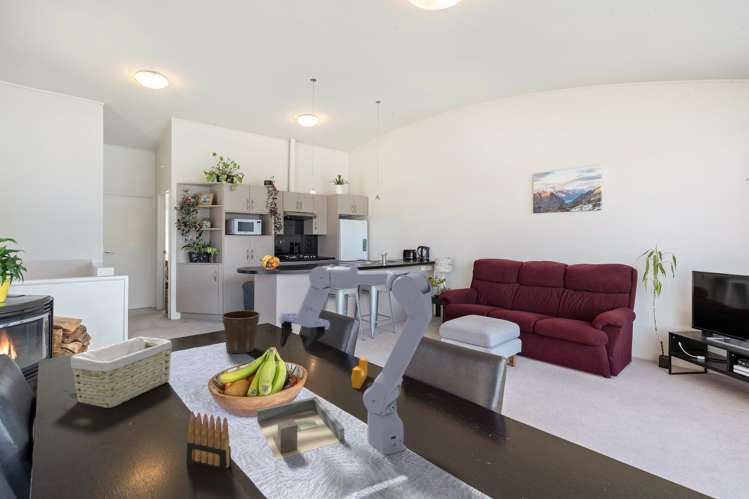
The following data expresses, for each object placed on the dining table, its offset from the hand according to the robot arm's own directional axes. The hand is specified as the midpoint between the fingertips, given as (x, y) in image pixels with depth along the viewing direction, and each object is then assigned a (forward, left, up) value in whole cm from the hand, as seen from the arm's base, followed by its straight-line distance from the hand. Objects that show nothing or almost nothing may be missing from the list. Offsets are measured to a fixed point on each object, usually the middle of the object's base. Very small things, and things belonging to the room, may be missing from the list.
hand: (294, 345), depth 105 cm
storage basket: (+42, +44, -21) cm, 64 cm away
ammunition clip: (-13, +24, -21) cm, 34 cm away
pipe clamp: (+14, -28, -21) cm, 37 cm away
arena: (-9, +2, -20) cm, 22 cm away
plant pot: (+70, +3, -21) cm, 73 cm away
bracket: (-14, +7, -20) cm, 25 cm away
